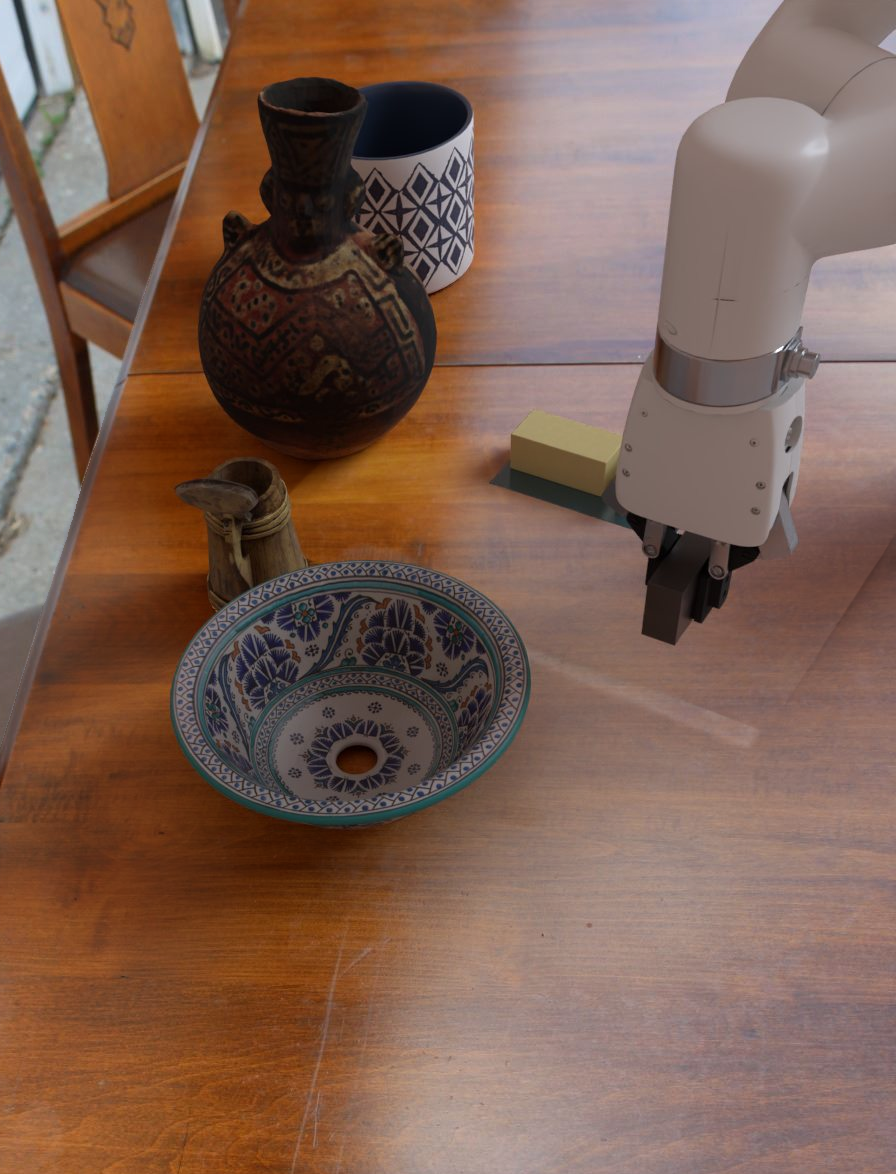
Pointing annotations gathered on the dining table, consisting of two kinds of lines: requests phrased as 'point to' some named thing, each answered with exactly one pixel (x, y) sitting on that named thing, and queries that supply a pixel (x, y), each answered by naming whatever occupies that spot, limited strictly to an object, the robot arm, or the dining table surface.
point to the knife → (675, 589)
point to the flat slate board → (558, 495)
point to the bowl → (350, 692)
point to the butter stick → (565, 451)
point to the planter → (419, 175)
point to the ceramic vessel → (314, 292)
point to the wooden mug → (244, 526)
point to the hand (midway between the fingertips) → (684, 600)
